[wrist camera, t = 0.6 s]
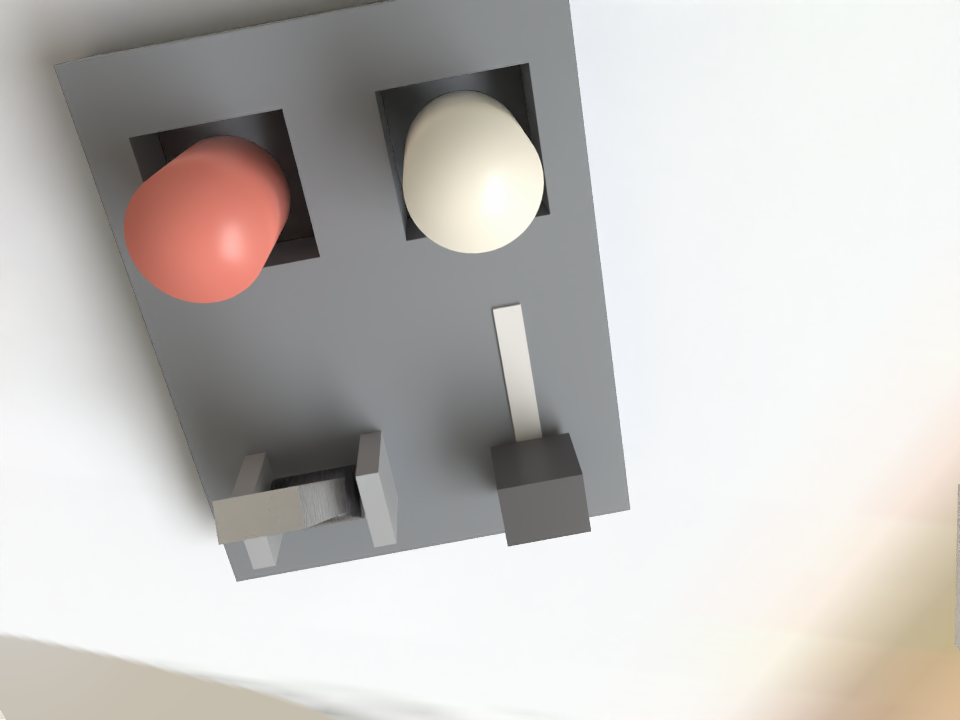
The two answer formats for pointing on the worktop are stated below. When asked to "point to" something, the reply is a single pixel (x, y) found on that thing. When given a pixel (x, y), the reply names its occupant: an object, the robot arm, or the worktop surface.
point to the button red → (208, 219)
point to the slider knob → (540, 489)
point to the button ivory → (470, 173)
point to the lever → (291, 505)
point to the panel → (371, 277)
